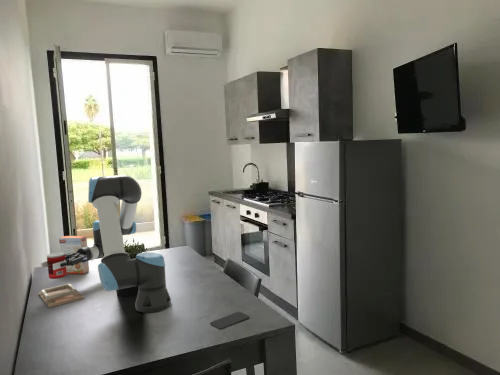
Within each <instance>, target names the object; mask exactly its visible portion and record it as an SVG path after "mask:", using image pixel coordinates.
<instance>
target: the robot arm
mask: <svg viewBox="0 0 500 375" xmlns="http://www.w3.org/2000/svg"><path fill="white" fill-rule="evenodd" d="M142 193H143V192H142V188H141V186H140V184H139V183H138V181H137V180H135V178H133V177H132V176H130V175H126V174H119V175H108V176H107V175H106V176H104V175H103V176H100V175H98V176H92V177H90V178H89V180H88V199H87V201H88V203H90V204H92V206H93V208H94V209H96V212H97V218H98V219H97V220H95V221H93V222H92V232H93V233H92V234H93V236H92V237H93V244H90V245H87V246H86V247H83V248H80V249H78V250H77V252H76V253H72V254H70V253H67V254H65V260H66V261H67V262H66V261H61V262H58V263H55V264H53V270H56V269H59V268H62V267H65V266H66V265H67V266H70V265H71V266H73V265H76V264H78V263H81V262H82V263H84V262H87V261H88V262H89V261H94V260H95V259H98V258H101V259H100V263H99V264H98V265H97V269H98V276H99V281H100V283H101V285H102V288H103V290H105V291H107V292H111V291H118V290H123V289H128V288H133V287H138V288H137V289H138V291H137V294H136V300H135V303H134V305H135V307H134V308H135V310H136V311H137V312H140V313H144V314H150V313H152V314H153V313H157V312H161V311H162V312H163V311H164V310H167V309H168V308H170V307H171V305H172V299H171V296H170V293H169V291H168V289H167V284H166V282H167V279H166V262H165V256H164V255H163V254H160V253H157V252H149V251H147V252H139V253H137V254H136V255H135V258H131V256H130V254H129V253H128V252H126V251H125V245H124V238H123V236H127V235H133V234H136V232H137V223H136V221H135V216H136V211H137V208H138V203H139V202H140V201H141V198H142ZM120 201H121V206H120V211H118V205H119V204H120ZM103 253H104V256H103ZM69 258H70V259H69ZM73 263H74V264H73ZM40 266H41V269H44V268H48V264H47V260H43V261H41V262H40Z"/></svg>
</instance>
